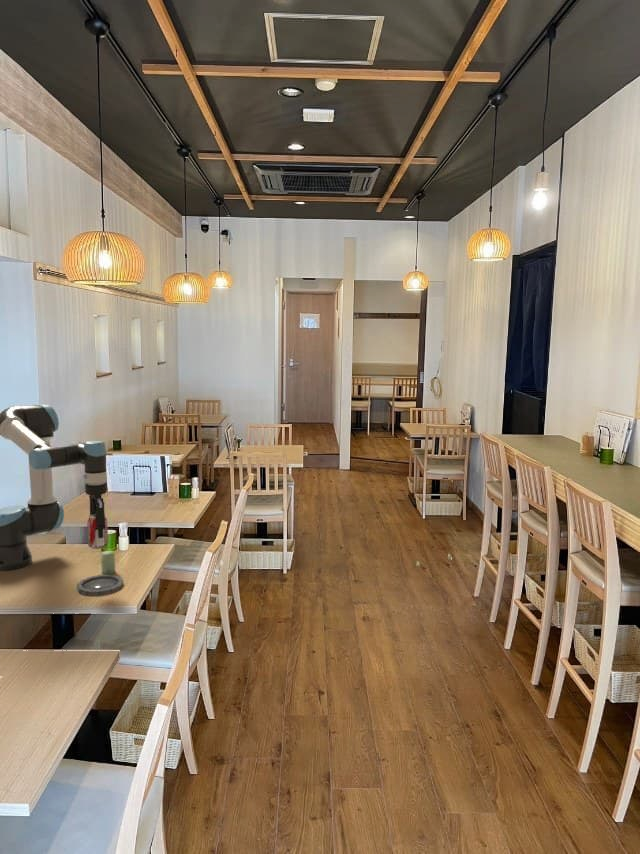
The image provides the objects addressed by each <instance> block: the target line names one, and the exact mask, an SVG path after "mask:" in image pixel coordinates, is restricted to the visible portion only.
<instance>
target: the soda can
mask: <svg viewBox="0 0 640 854" xmlns="http://www.w3.org/2000/svg"><path fill="white" fill-rule="evenodd" d="M86 526H87V528H86V529H87V530H86V531H87V544H88V547H89V548H91V549H93V550H94V549H95V550H100V549H104V548H105V547H106V546H107V545H108V543H109V536H108V535H109V534H108V532H109V531H108V530H109V529H108V518H107V517H106V516H105V528H104V546H98V547H97V546H96V530H95V528H97V527H96V518H95V514H92V515H90V514H89V516H88V519H87V525H86ZM101 526H102V525H101Z"/></svg>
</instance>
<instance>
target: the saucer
mask: <svg viewBox="0 0 640 854" xmlns="http://www.w3.org/2000/svg"><path fill="white" fill-rule="evenodd" d="M123 586H124V579H123V578H122V577H121V576H119V575H114V574H97V575H92V576H88V577H85V578H83V579H80V581H79V582H78V583H77V585H76V590H77V592H78V593H80V594H82V595H85V596H101V595H102V596H103V595H108V594H111V592H112V593H115V592H116V591H118V590H120V589H122V587H123Z"/></svg>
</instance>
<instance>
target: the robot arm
mask: <svg viewBox="0 0 640 854" xmlns="http://www.w3.org/2000/svg"><path fill="white" fill-rule="evenodd" d="M59 424H60V423H59V416H58V415H57V412H56V410H55V409H54V408H53V406H51V405H50V404H32V405H19V406H17V405H16V406H9V407H8V408H5V409H4V410H2V411H1V412H0V437H2V438H4V439H5V440H10V441H11V442H13V444H15V445H16V446H17V447H18V448H20V449H21V450H22V451H23V452H25V453H26V454H27V456H28V471H29V485H30V499H29V500H28V501H27V507H25V506H24V505H21V504H16V505H8V506H6V507H3V508H0V571H11V570H12V571H13V570H16V569H17V570H18V569H22V568H24V567H27V566H29V565H30V564H32V562H33V555H32V553H31V551H30V548H29V546H28V544H27V537H29V536H33V535H37V534H42V533H49V532H51V531H54V530H55V531H56V530H58V529H59V528H60V527H61V526H62V525H63V523H64V519H65V509H64V506H63V504H62V503H61V502H59V501H58V498H57V497H55V496H54V486H53V485H54V484H53V483H54V482H53V470H52V469H53V468H58V467H65V466H73V465H84V474H83V475H82V476H83V478H84V481H85V484H84V485H85V486H84V487H85V492H84V493H85V494H86V495H88V497H89V516H90V515H92V514H95V518H96V527H97V528H95V530H96V546H97V547H98V546H104V528H105V517H106V514H105V501H104V498H103V497H102V496H103V495H105V494H107V492H108V483H107V481H108V472H107V449H106V443H105V441H103V440H87V441H85V442H81V441H79V442H75V441H74V442H72V443H70V444H67V445H57V446H51V440H52V439H53V438H54V437H55V436H54V433H55V432H57V431H58V429H59ZM101 525H102V526H101Z"/></svg>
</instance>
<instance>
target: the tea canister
mask: <svg viewBox="0 0 640 854" xmlns="http://www.w3.org/2000/svg"><path fill="white" fill-rule="evenodd" d="M100 554H101V555H100V556H101V557H100V558H101V561H100V563H101V575H113V574H114V573H115V572H116V567H115V566H116V562H115V555H116V554H115V551H113V550H106V551H102V552H101V553H100Z"/></svg>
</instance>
